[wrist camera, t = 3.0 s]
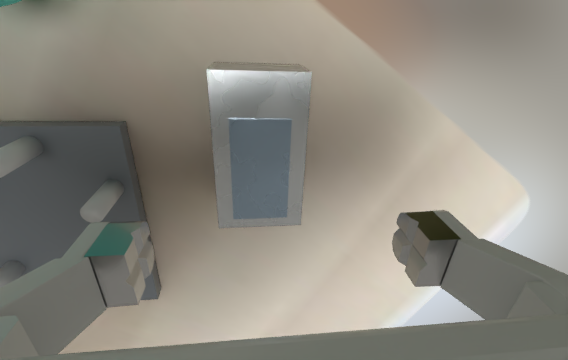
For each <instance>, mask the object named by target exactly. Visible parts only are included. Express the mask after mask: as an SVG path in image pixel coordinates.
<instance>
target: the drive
mask: <svg viewBox="0 0 568 360" xmlns="http://www.w3.org/2000/svg"><path fill="white" fill-rule="evenodd" d="M311 78H312V72H311V71H309V70H308V69H306V68H304V67H303V66H301V65H299V64H267V63H229V62H214V63H213V64H212V65H211V66H210V67H209V68H208V69H207V82H208V95H209V108H210V120H211V133H212V146H213V159H214V172H215V185H216V198H217V211H218V223H219V228H235V227H261V226H286V225H301V213H302V199H303V186H304V172H305V159H306V145H307V132H308V118H309V105H310V91H311Z"/></svg>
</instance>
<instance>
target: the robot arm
mask: <svg viewBox="0 0 568 360" xmlns="http://www.w3.org/2000/svg"><path fill="white" fill-rule="evenodd" d="M397 225H398V226H399V229H398V230H397V231H396V232H395V233H394V235H393V240H392V246H393V252H394V254H395V257H396V258H397V260H398V261H399V262H400V263H402V264H404V265H405V266H406V268H405V272H406V274H407V275H408V277H409V278H410V280H411V281H412V283H413V284H414V286H415V287H420V286H441V288H442V289H444V290H445V291H447V292H448V293H449V294H451V295H452V296H453V297H455V298H456V299H458V300H459V301H460V302H462V303H463V304H464V305H466V306H467V307H469V308H470V309H471V310H473V311H474V312H475V313H477V314H478V315H480V316H481V317H482V318H484V319H485V320H481V321H468V322H456V323H443V324H432V325H419V326H406V327H394V328H381V329H369V330H356V331H343V332H331V333H318V334H306V335H293V336H281V337H268V338H256V339H244V340H231V341H219V342H207V343H195V344H183V345H170V346H158V347H146V348H133V349H120V350H108V351H95V352H82V353H69V354H58V353H59V352H60V351H61V350H63V349H64V348H65V347H66V346H67V345H68V344H69V343H70V342H71V341H72V340H73V339H74V338H76V337H77V336H78V335H79V334H80V333H81V332H82V331H83V330H84V329H85V328H86V327H88V326H89V325H90V324H91V323H92V322H93V321H94V320H95V319H96V318H97V317H98V316H99V315H101V314H102V313H103V312H104V311H105V310H106V307H117V306H128V305H138V304H139V302H140V299H141V297H142V294H143V292H144V289H145V287H146V285H145V281H144V279H145V278H147V277H148V276H149V275H150V274H151V271H152V269H153V264H154V248H153V244H152V243H151V242H150V241H148V240H147V238H148V236H149V234H150V230H149V226H148V223H147V222H145V221H123V222H93V223H90V224H89V225H88V226H87V227H86V229H85V230H84V231H83V232H82V233H81V235H80V236H79V237H78V238H77V240H76V241H75V242H74V243H73V244H72V246H71V247H70V248H69V249H68V250H67V252H66V253H65V254H64V255H63V257H62V258H59V259H53V260H52V261H50V262H48V263H46V264H44V265H42V266H40V267H38V268H36V269H35V270H33V271H31V272H29V273H27V274H25V275H23V276H21V277H20V278H18V279H16V280H14V281H12V282H10V283H8V284H6V285H4V286H3V287H1V288H0V360H568V275H567V274H565V273H562V272H560V271H557V270H555V269H553V268H551V267H548V266H546V265H543V264H541V263H539V262H536V261H534V260H532V259H529V258H527V257H524V256H522V255H520V254H518V253H515V252H513V251H511V250H508V249H506V248H503V247H501V246H499V245H497V244H494V243H492V242H490V241H487V240H485V239H478V238H477V237H476V236H475V235H474V234H473V233H471V232H470V231H469V230H468V229H467V228H466V227H465V226H464V225H463V224H461V223H460V222H459V221H458V220H457V219H456V218H455V217H454V216H453V215H452V214H450V213H449V212H448V211H445V210H436V211H425V212H405V213H400V215H399V216H398V219H397Z"/></svg>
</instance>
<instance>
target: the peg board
mask: <svg viewBox="0 0 568 360" xmlns="http://www.w3.org/2000/svg"><path fill="white" fill-rule="evenodd" d="M123 221H145V222H147V220H146V216H145V211H144V206H143V201H142V197H141V192H140V187H139V183H138V178H137V173H136V168H135V164H134V159H133V154H132V149H131V145H130V140H129V135H128V131H127V126H126V122H0V288H1V287H3V286H4V285H6V284H8V283H10V282H12V281H14V280H16V279H18V278H20V277H21V276H23V275H25V274H27V273H29V272H31V271H33V270H35V269H36V268H38V267H40V266H42V265H44V264H46V263H48V262H50V261H52V260H53V259H59V258H62V257H63V255H64V254H65V253H66V252H67V250H68V249H69V248H70V247H71V246H72V244H73V243H74V242H75V241H76V240H77V238H78V237H79V236H80V235H81V233H82V232H83V231H84V230H85V229H86V227H87V226H88V225H89V224H90V223H93V222H123ZM147 240H148V241H150V242H151V239H150V234H149V236H148V238H147ZM144 281H145V285H146V287H145V289H144V292H143V294H142V297H141V299H140V300H150V299H158V297H159V294H160V291H161V286H160V282H159V277H158V272H157V267H156V263H155V258H154V264H153V269H152V271H151V274H150V275H149V276H148V277H147V278H145V279H144Z"/></svg>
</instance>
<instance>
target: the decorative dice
mask: <svg viewBox="0 0 568 360" xmlns="http://www.w3.org/2000/svg"><path fill="white" fill-rule="evenodd" d="M19 1H21V0H0V7H1V6H6V5H10V4H13V3H17V2H19Z"/></svg>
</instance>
